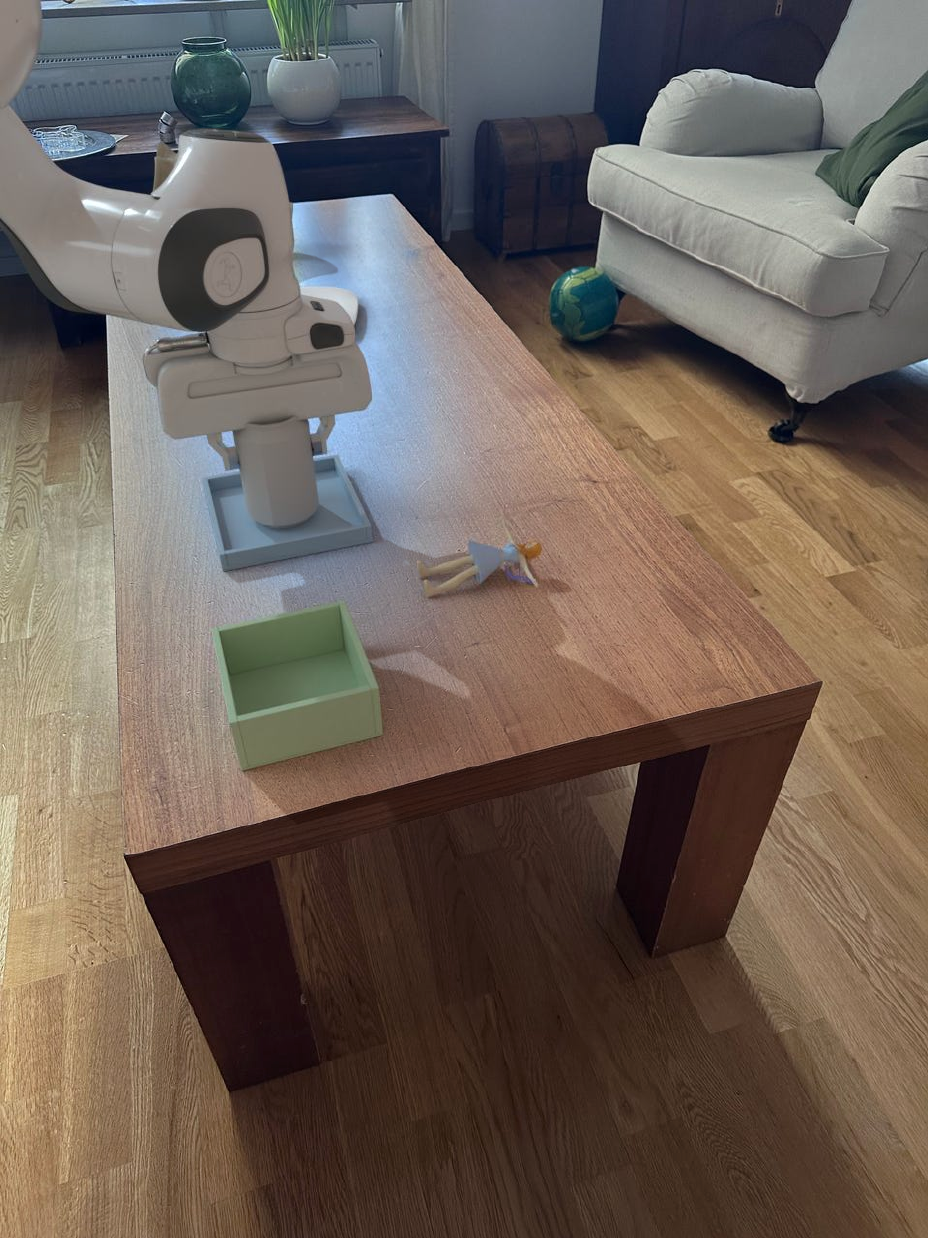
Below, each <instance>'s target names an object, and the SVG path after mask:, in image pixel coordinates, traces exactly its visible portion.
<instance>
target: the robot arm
mask: <svg viewBox="0 0 928 1238" xmlns="http://www.w3.org/2000/svg"><path fill="white" fill-rule="evenodd" d="M42 7H43V6H42V0H0V229H1V230H2V231H3V233H4V234H5V235H6V237H7V238H8V240H9V241H10V243H11V245H12V246H13V248H14V250H15V252H16V253H17V255H18V257H19V259H20V261H21V263H22V264H23V266H24V268H25V270H26V272H27V274H28V275H29V277H30V278H31V280H32V282H33V283H34V284H35V286H36V288H38V290H39V291H40V292H41V293H42V294H43V295H44V296H45V297H46V298H47V299H48V300H49V301H51V302H52V303H53V304H55V305H56V306H58V307H60V308H62V309H64V310H67V311H70V312H73V313H81V314H82V313H83V314H89V315H90V314H91V315H100V316H111V317H115V318H119V319H124V320H127V321H132V322H137V323H142V324H146V325H150V326H151V325H152V326H158V327H163V328H167V329H171V330H176V331H182V332H189V333H190V332H195V333H191V334H189V333H188V334H186V335H182V336H177V337H175V336H174V337H170V336H165V337H161V338H158V339H156V340H155V343H152V344H151V345H149V346H148V347H147V348H146V349H145V350H144V353H143V355H142V364H143V369H144V372H145V377H146V379H147V381H148V382H149V383H150V384H151V385H152V386H154V387H155V388H156V398H157V404H158V411H159V417H160V421H161V422H160V423H161V427H162V431H163V433H165V434H166V435H167V436H168V437H170V438H171V439H173V440H183V439H189V438H195V437H202V436H206V439H207V443H208V445H209V446H210V447H211V448H212V449H213V450H214V451H215V452H216V453H217V454H218V455H219V456H220V457H221V458H222V463H223V466H224V469H225V471H226V472H228V471H234V470H238V469H240V464H239V458H238V454H237V451H236V449H235V445H234V446H227V445H226V444H225V443H224V442H223V435H222V434H223V433H226V432H232V431H234V430H241V429H246V428H247V426H246V425H245V424H246V423H252V424H259V425H265V424H271V423H278V422H283V421H286V420H288V419H290V418H291V417H293V416H298V417H297V418H296V419H297V420H305V419H308V420H310V419H316V418H317V419H318V420H319V425H318V427H317V428H316V432H315V433H310V435H311V443H312V452H313V457H317V456H324V455H328V445H327V440H328V439H329V437H330V435H331V433H332V432H333V429H334V428H335V425H336V417H335V416H337V415H343V414H348V413H350V414H351V413H354V412H355V413H356V412H362V411H365V410H367V409H368V407H369V406H370V404H371V402H372V400H373V392H372V384H371V377H370V373H369V368H368V363H367V361H366V358H365V355H364V353H363V352H362V350H361V347H360V346H359V345H358V342H357V341H356V328H355V325H353V322H352V320H351V318H350V316H349V315H348V313H347V312H346V311H345V310H344V308H343V307H342V306H341V305H340V304H339V303H337V302H335V301H332V300H328V299H322V298H317V297H312V296H307V295H302V294H301V291H300V286H301V285H300V283H299V280H298V278H297V275H296V272H295V269H294V263H293V262H294V261H293V256H294V250H295V234H294V224H293V215H292V216H291V209H290V203H291V202H290V199H289V198H290V197H289V193H288V188H287V183H286V179H285V174H284V169H283V167H282V164H281V160H280V158H279V156H278V153H277V150H276V149H275V146H274V145H273V143H272V142H271V141H270V140H268V139H267V138H265V137H264V136H262V135H261V134H257V133H254V132H248V131H240V130H231V129H219V128H207V127H206V128H205V127H201V128H192V129H188V130H187V131H184V132H182V133H181V134H180V135H179V137H178V144H177V145H178V149H177V150H178V151H177V153H178V155H179V157H178V159H177V162H176V164H175V166H174V168H173V170H172V171H171V173H170V175H169V176H168V177H167V179H166V180H165V181H164V182H163V184H162V185H161V186H160V187H159V188H157V189H156V190H155V191H153V190H152V192H151V193H150V194H146V193H140V192H134V191H127V190H122V189H121V190H120V189H115V188H111V187H110V188H109V187H106V186H103V185H98V184H94V183H92V182H88V181H86V180H82V179H80V178H78V177H75V176H74V175H71V174H70V173H68V172H66V171H65V170H63V169H62V168H60V167H59V166H58V165H57V164H56V163H55V162H54V161H53V159H52V158H51V156H49V154H48V153H47V151H46V150H45V149H44V147H42V145H41V144H40V143H39V141H38V140H37V139H36V137H35V136H34V135H33V134H32V132H31V131H30V130H29V129H28V127H27V126H26V125H25V124H24V122H23V121H22V120H21V118H20V117H19V116H18V115H17V113H16V112H15V111H14V110H13V107H11V106H10V104H11V102H13V101H14V99H15V98H16V97H17V95H18V94H19V93H20V92H21V90H22V88H23V87H24V86H25V84H26V82H27V80H28V79H29V78H30V76H31V73H32V71H33V69H34V67H35V64H36V61H37V59H38V56H39V53H40V49H41V45H42V38H43V37H42V36H43V9H42ZM289 202H290V203H289ZM156 349H157V350H156Z"/></svg>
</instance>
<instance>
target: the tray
mask: <svg viewBox="0 0 928 1238" xmlns="http://www.w3.org/2000/svg"><path fill="white" fill-rule="evenodd" d="M313 459H314V467H315V476H316V484H317V492H318V500H319V504H318V509H317V510H316V512H315V513H314V514H313V515H312V516H310V518H309V519H308V520H307V521H305V522H304V523H302V524H300V525H297V526H295V527H290V528H284V529H275V528H269V527H266V526H264V525H262V524H261V523H259V522H256V521H254V520H253V519H252V518H251V517H250V516H249V514H248V512H247V508H246V502H245V497H244V492H243V486H242V481H241V476H240V470H239V471H233V472H227V473H222V474H215V475H210V476H204V477H201V482H202V486H203V491H204V495H205V499H206V504H207V509H208V512H209V517H210V521H211V526H212V529H213V535H214V538H215V542H216V547H217V552H218V557H219V560H220V564H221V568H222V572H227V571H231V570H232V571H233V570H236V569H237V570H238V569H242V568H247V567H252V566H258V565H262V564H267V563H274V562H278V561H283V560H288V559H293V558H299V557H304V556H307V555H313V554H318V553H323V552H328V551H329V552H330V551H334V550H338V549H344V548H349V547H353V546H359V545H365V544H369V543H374V538H373V537H374V536H373V527H372V524H371V521H370V519H369V518H368V515H367V513H366V510H365V509H364V507H363V504H362V503H361V501H360V499H359V496H358V494H357V492H356V490H355V488H354V486H353V483H352V481H351V479H350V477H349V476H348V473H347V471H346V469H345V467H344V465H343V463H342V460H341V459H340V456H339V455H338V454H334V455H327V456H321V457H315V458H313Z"/></svg>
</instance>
